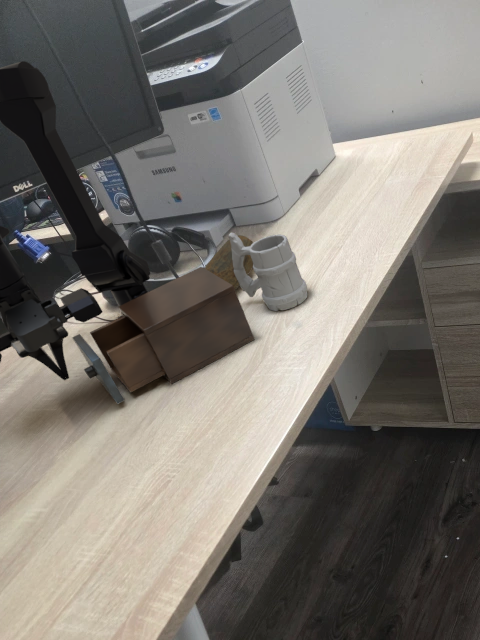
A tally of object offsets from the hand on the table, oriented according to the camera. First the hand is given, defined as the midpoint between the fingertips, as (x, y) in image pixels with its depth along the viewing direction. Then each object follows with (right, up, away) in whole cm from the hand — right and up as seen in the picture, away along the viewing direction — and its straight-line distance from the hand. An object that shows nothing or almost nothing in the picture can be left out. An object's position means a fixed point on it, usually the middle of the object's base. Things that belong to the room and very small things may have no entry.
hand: (66, 378), depth 98 cm
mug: (+30, +15, +12) cm, 36 cm away
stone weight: (+21, +21, +21) cm, 36 cm away
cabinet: (+19, +6, +5) cm, 20 cm away
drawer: (+11, +1, +2) cm, 11 cm away
